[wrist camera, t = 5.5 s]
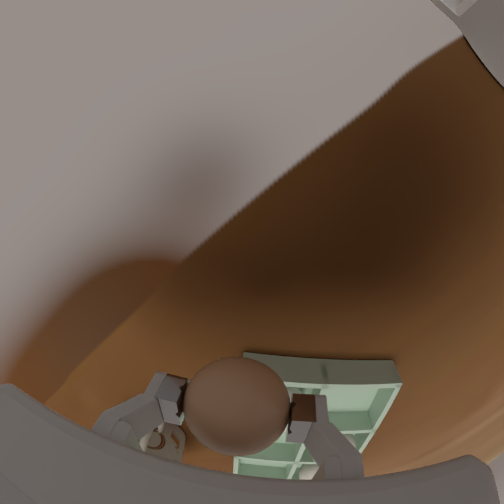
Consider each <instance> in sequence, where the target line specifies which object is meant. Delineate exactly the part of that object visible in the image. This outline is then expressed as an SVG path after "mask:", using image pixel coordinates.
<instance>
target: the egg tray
mask: <svg viewBox="0 0 504 504" xmlns="http://www.w3.org/2000/svg"><path fill="white" fill-rule="evenodd" d="M243 357H245V358H250V359H253V360H256V361H259V362H261V363H263V364H265V365H267V366H268V367H270V368H271V369H272V370H273V371H274V372H276V373H277V375H278V376H279V377H280V378H281V380H282V381H283V382H284V384H285V386H286V387H297V388H298V389H299V390H300V391H301V392H302V393H303V394H314V395H326V397H327V407H328V418H329V423H333V424H334V425H335V427H336V428H337V429H338V430H339V431H340V432H341V433H342V434H352V435H353V436H354V438H355V441H356V449H357V450H358V451H359V452H360V453H362V451H363V450H364V448H365V447H366V445H367V444H368V442H369V441H370V439H371V438H372V436H373V435H374V433H375V432H376V430H377V428H378V427H379V425H380V423H381V422H382V420H383V418H384V417H385V415H386V413H387V412H388V410H389V408H390V406H391V404H392V403H393V401H394V399H395V397H396V395H397V393H398V391H399V389H400V388H401V386H402V384H403V382H402V380H401V378H400V375H399V373H398V371H397V369H396V366H395V364H394V362H393V360H334V359H314V358H299V357H287V356H276V355H266V354H257V353H249V352H244V353H243ZM285 440H286V433H284V434H282V435H281V436H280V437H279V439H278V440H277V441H276V442H275V443H273V444H272V445H271V446H270V447H268V448H266V449H265V450H263V451H261V452H258V453H256V454H252V455H247V456H234V468H233V473H234V474H241V475H248V476H257V477H267V478H280V479H299V475H298V474H299V469H300V467H301V466H302V464H317V463H316V462H315V461H314V460H313V458H312V456H311V454H310V453H309V451H308V450H307V448H306V447H305V445H304V443H290V442H285Z"/></svg>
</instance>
